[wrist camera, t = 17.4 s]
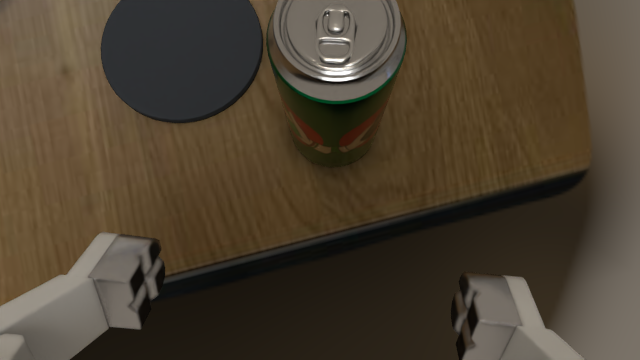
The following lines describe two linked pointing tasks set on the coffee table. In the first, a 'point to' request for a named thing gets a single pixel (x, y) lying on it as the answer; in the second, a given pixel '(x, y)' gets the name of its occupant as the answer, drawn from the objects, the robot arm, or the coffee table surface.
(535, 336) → the robot arm
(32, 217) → the coffee table surface
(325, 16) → the soda can
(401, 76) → the coffee table surface
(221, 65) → the coaster
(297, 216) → the coffee table surface
